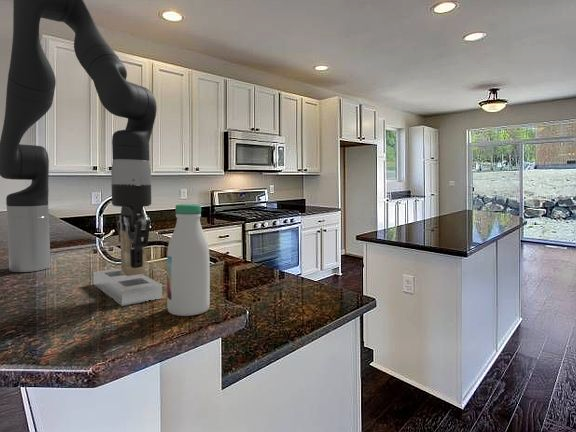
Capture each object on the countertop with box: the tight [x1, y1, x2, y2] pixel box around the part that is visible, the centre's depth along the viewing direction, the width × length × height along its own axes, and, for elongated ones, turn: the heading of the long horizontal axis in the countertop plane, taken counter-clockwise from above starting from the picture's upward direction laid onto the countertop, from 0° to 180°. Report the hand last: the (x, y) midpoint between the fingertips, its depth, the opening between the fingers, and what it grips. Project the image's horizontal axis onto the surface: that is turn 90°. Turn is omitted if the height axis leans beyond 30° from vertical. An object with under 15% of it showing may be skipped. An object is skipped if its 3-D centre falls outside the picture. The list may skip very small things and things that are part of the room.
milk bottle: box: [166, 203, 211, 317], centre depth 70 cm, size 8×8×20 cm
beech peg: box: [120, 230, 146, 276], centre depth 78 cm, size 4×4×9 cm
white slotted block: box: [93, 267, 163, 307], centre depth 83 cm, size 20×8×3 cm, turn 41°
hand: (133, 265), depth 78 cm, fingers closed on beech peg, 3 cm apart
